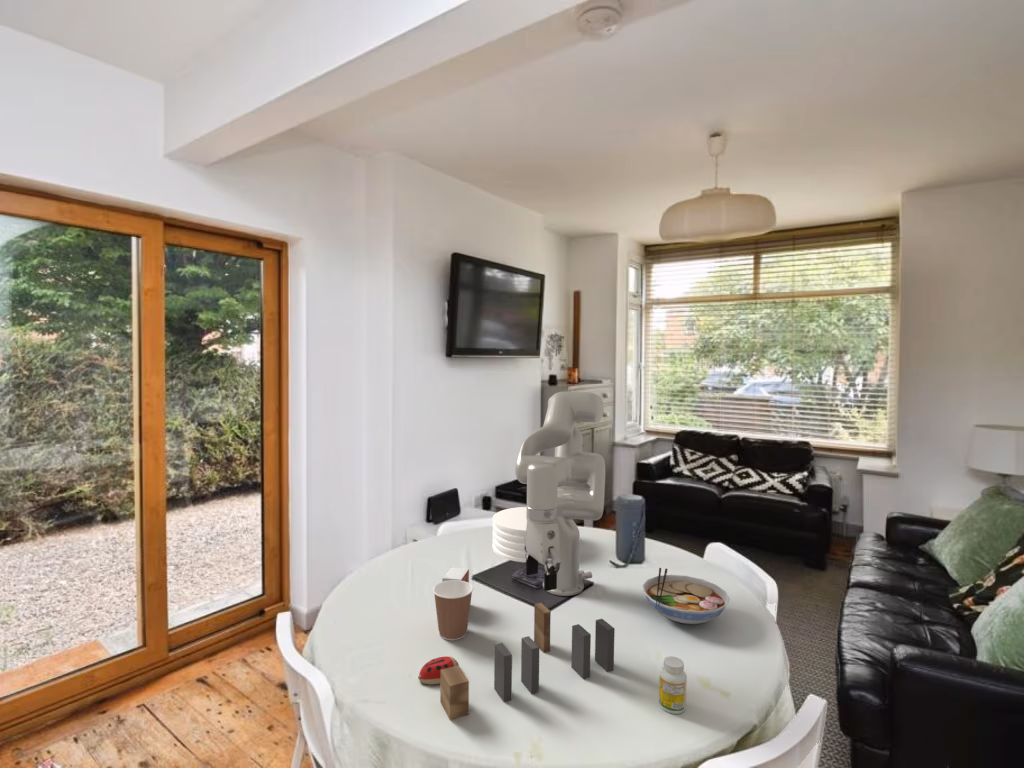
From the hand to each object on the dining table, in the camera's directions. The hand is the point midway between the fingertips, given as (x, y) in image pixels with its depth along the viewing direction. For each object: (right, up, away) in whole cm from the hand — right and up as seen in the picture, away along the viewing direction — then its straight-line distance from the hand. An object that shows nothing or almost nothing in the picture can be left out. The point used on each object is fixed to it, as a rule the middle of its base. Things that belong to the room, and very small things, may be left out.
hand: (540, 581), depth 134 cm
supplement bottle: (+26, -19, -21) cm, 38 cm away
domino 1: (-9, -18, -18) cm, 27 cm away
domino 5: (+14, -17, -7) cm, 23 cm away
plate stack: (0, -13, +68) cm, 69 cm away
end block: (-19, -18, -22) cm, 34 cm away
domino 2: (-3, -18, -15) cm, 23 cm away
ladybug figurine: (-23, -18, -11) cm, 31 cm away
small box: (-23, -15, +20) cm, 34 cm away
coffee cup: (-22, -16, +7) cm, 28 cm away
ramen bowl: (+41, -16, +17) cm, 47 cm away
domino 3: (0, -17, +1) cm, 17 cm away
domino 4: (+9, -17, -9) cm, 22 cm away
